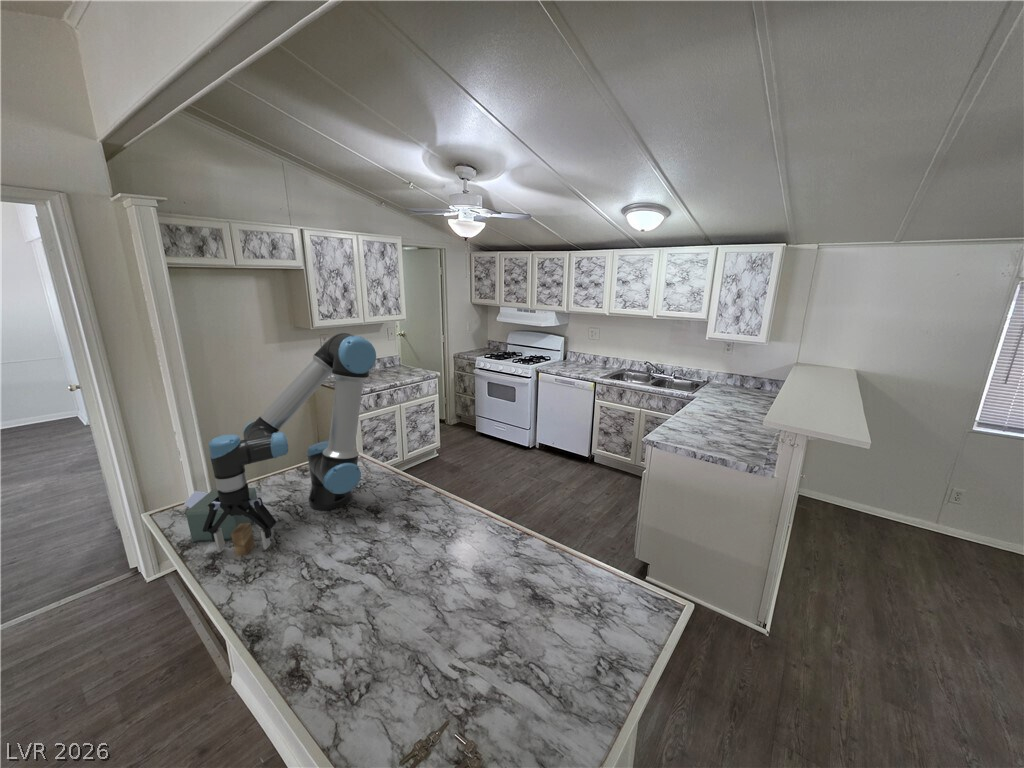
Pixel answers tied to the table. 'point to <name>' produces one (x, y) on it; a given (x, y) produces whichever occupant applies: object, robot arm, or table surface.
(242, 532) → the block
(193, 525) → the coin box
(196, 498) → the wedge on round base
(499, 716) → the table surface
